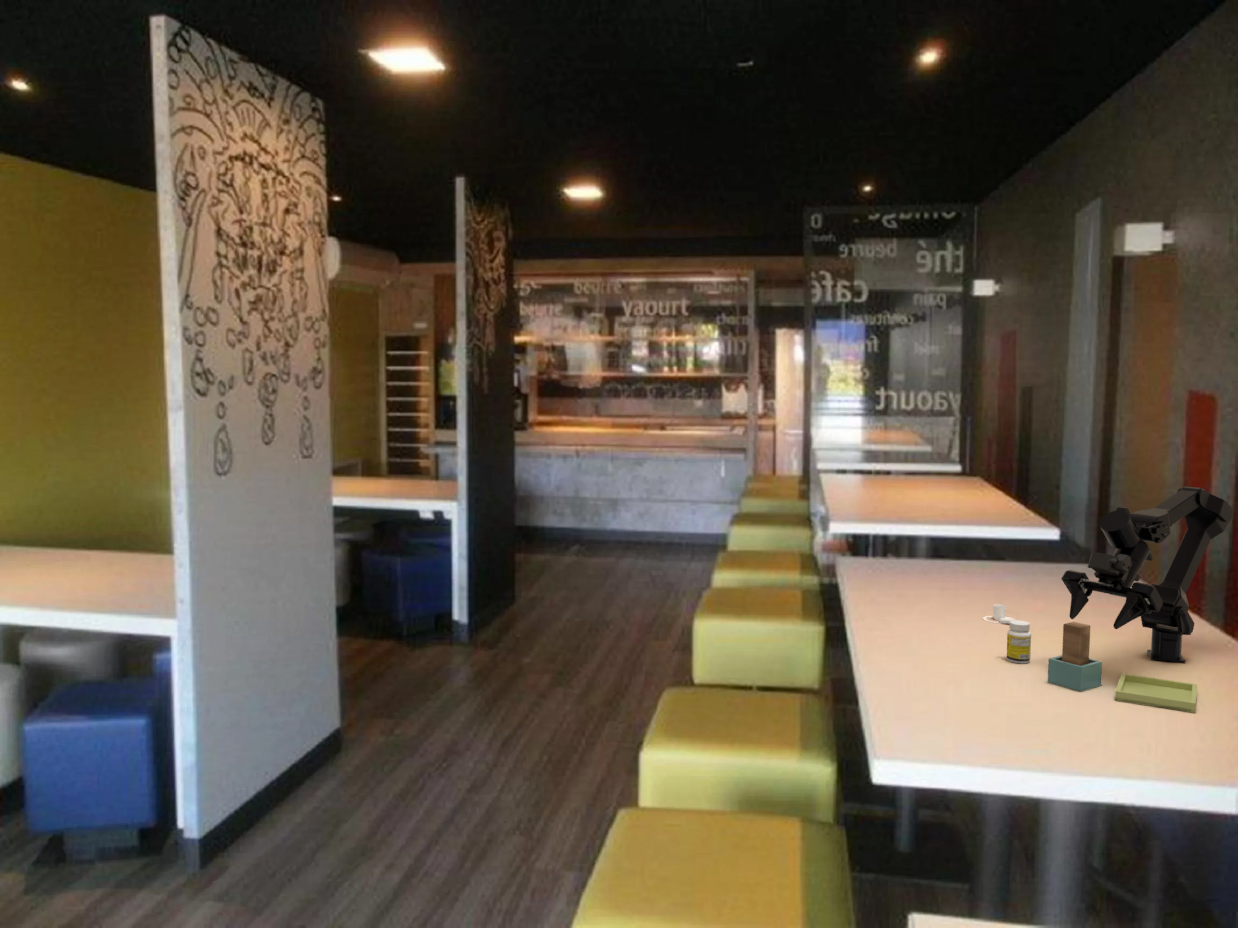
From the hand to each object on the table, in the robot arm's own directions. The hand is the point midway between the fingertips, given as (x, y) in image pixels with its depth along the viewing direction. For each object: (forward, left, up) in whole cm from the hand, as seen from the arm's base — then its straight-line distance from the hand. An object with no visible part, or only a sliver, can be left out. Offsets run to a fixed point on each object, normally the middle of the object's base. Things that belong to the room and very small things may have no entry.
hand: (1092, 622), depth 194 cm
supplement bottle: (-9, -13, -12) cm, 20 cm away
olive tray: (+7, +11, -12) cm, 17 cm away
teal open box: (+4, -3, -12) cm, 13 cm away
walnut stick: (+4, -3, -12) cm, 13 cm away
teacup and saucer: (-43, -18, -12) cm, 48 cm away
